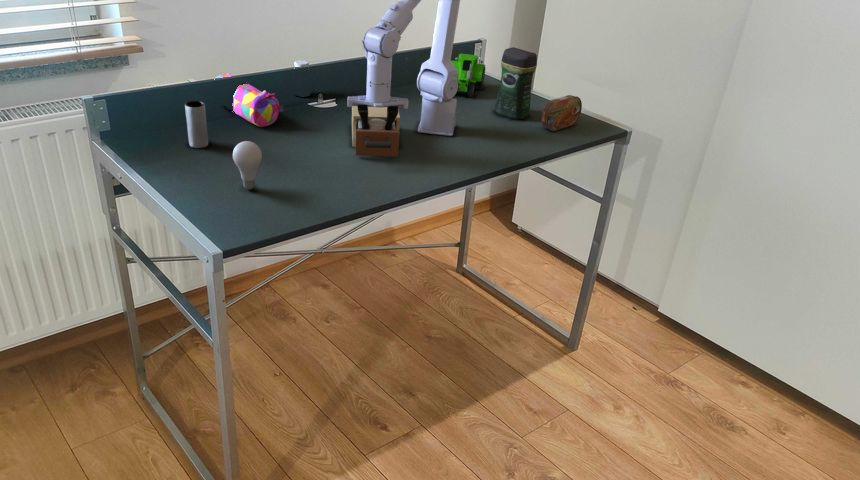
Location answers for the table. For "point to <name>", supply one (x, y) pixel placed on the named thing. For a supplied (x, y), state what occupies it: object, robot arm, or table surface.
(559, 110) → the tin
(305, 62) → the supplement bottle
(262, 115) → the pencil case
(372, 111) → the wooden drawer cabinet
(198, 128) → the planter
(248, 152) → the lightbulb
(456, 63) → the toy tractor
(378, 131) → the drawer
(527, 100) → the coffee jar
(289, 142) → the table surface
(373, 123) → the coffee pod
